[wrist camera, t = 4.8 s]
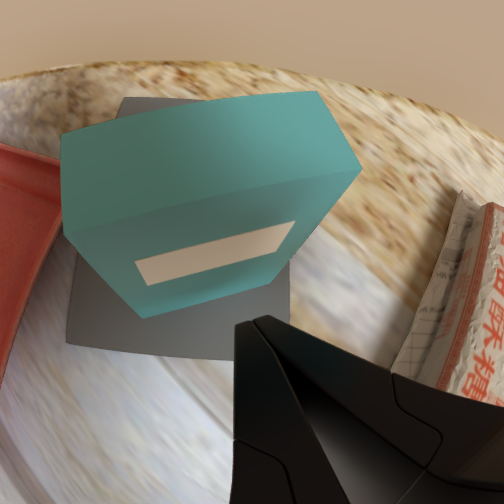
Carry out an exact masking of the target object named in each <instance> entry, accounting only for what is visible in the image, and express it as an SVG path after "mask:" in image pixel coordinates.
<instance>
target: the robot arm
mask: <svg viewBox="0 0 504 504" xmlns="http://www.w3.org/2000/svg"><path fill="white" fill-rule="evenodd" d="M233 439H234V441H233V470H232V485H231V493H230V501H229V504H504V407H502V406H497V405H493V404H489V403H485V402H482V401H478V400H474V399H470V398H466V397H463V396H459V395H455V394H452V393H449V392H445V391H442V390H439V389H436V388H433V387H430V386H427V385H424V384H422V383H419V382H417V381H414V380H412V379H409V378H407V377H404V376H402V375H400V374H397V373H395V372H393V373H392V374H391V371H390V370H388V369H385V368H383V367H381V366H379V365H376V364H374V363H372V362H369V361H367V360H365V359H363V358H361V357H358V356H356V355H354V354H352V353H349V352H347V351H345V350H343V349H341V348H339V347H336V346H334V345H332V344H330V343H328V342H326V341H323V340H321V339H319V338H317V337H315V336H313V335H311V334H309V333H306V332H304V331H302V330H300V329H298V328H296V327H294V326H292V325H290V324H288V323H286V322H283V321H281V320H279V319H277V318H275V317H273V316H271V315H263V316H260V317H257V318H254V319H253V320H252V321H251V320H247V321H244V322H241V323H237V324H235V326H234V387H233Z"/></svg>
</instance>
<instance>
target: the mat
mask: <svg viewBox="0 0 504 504" xmlns="http://www.w3.org/2000/svg"><path fill="white" fill-rule="evenodd" d="M203 101H206V100H192V99H176V98H151V97H124V100H123V102H122V105H121V108H120V110H119V113H118V115H117V118H122V117H126V116H130V115H134V114H139V113H143V112H148V111H153V110H157V109H162V108H168V107H173V106H178V105H184V104H190V103H196V102H203ZM117 118H116V119H117ZM263 315H271V316H273V317H275V318H277V319H279V320H281V321H283V322H286V323H288V324H290V281H289V261H288V262H287V264H286V265H285V266H284V267H283V268H282V270H281V271H280V272H279V273H278V274H277V276H276V277H275V278H274V279H273V280H272V282H271V283H269V284H266V285H262V286H259V287H256V288H252V289H249V290H245V291H242V292H238V293H235V294H231V295H228V296H224V297H221V298H217V299H214V300H210V301H206V302H203V303H199V304H196V305H192V306H188V307H185V308H181V309H177V310H174V311H170V312H166V313H162V314H159V315H155V316H151V317H147V318H143V319H142V318H141V317H140V316H139V315H138V314H137V313H136V312H135V311H134V310H133V309H132V308H131V307H130V306H129V305H128V304H127V303H126V302H125V301H124V300H123V299H122V298H121V297H120V296H119V295H118V294H117V293H116V292H115V291H114V290H113V289H112V288H111V287H110V286H109V285H108V284H107V283H106V281H105V280H104V279H103V278H102V277H101V276H100V275H99V274H98V273H97V272H96V271H95V270H94V269H93V268H92V266H91V265H90V264H89V263H88V262H87V261H86V260H85V259H84V258H83V257H82V255H81V254H80V253H78V258H77V263H76V269H75V275H74V281H73V287H72V293H71V300H70V307H69V315H68V324H67V333H66V343H69V344H74V345H81V346H87V347H93V348H100V349H107V350H114V351H122V352H130V353H139V354H148V355H158V356H168V357H180V358H193V359H209V360H228V361H234V326H235V324H237V323H241V322H244V321H247V320H251V321H252V320H253V319H254V318H257V317H260V316H263Z"/></svg>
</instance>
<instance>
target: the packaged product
mask: <svg viewBox="0 0 504 504" xmlns="http://www.w3.org/2000/svg"><path fill="white" fill-rule="evenodd" d="M390 371H391V374H392V373H393V372H395V373H397V374H400V375H402V376H404V377H407V378H409V379H412V380H414V381H417V382H419V383H422V384H424V385H427V386H430V387H433V388H436V389H439V390H442V391H445V392H449V393H452V394H455V395H459V396H463V397H466V398H470V399H474V400H478V401H482V402H485V403H489V404H493V405H497V406H502V407H504V207H502V206H500V205H497V204H496V203H494V202H491V203H487V204H486V205H483V206H481V207H480V206H479V205H478V204H477V203H476V202H475V201H474V200H473V199H468V198H467V196H466V195H465V193H464V192H463V190H462V191H461V192H460V193H459V194H458V195H457V199H456V202H455V205H454V208H453V211H452V215H451V219H450V223H449V227H448V231H447V234H446V237H445V241H444V244H443V247H442V250H441V252H440V255H439V258H438V260H437V263H436V266H435V268H434V271H433V274H432V277H431V279H430V282H429V284H428V286H427V288H426V290H425V292H424V294H423V296H422V299H421V301H420V305H419V307H418V309H417V311H416V314H415V317H414V320H413V323H412V326H411V329H410V332H409V334H408V336H407V338H406V340H405V341H404V343H403V345H402V347H401V349H400V351H399V353H398V355H397V357H396V359H395V361H394V364H393V366H392V368H391V370H390Z"/></svg>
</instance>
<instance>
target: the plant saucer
mask: <svg viewBox="0 0 504 504" xmlns="http://www.w3.org/2000/svg"><path fill="white" fill-rule="evenodd" d="M62 226H63V221H62V205H61V177H60V160H57V159H54V158H51V157H48V156H44V155H41V154H38V153H34V152H30V151H27V150H23V149H20V148H16V147H13V146H9V145H6V144H3V143H0V388H1V384H2V380H3V377H4V373H5V369H6V366H7V362H8V359H9V355H10V352H11V349H12V346H13V343H14V340H15V336H16V333H17V330H18V327H19V325H20V322H21V319H22V316H23V313H24V311H25V308H26V306H27V303H28V300H29V298H30V295H31V293H32V290H33V288H34V286H35V283H36V281H37V278H38V276H39V274H40V271H41V269H42V267H43V265H44V262H45V260H46V258H47V256H48V254H49V252H50V250H51V248H52V246H53V244H54V242H55V240H56V238H57V236H58V234H59V232H60V230H61V228H62Z"/></svg>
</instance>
